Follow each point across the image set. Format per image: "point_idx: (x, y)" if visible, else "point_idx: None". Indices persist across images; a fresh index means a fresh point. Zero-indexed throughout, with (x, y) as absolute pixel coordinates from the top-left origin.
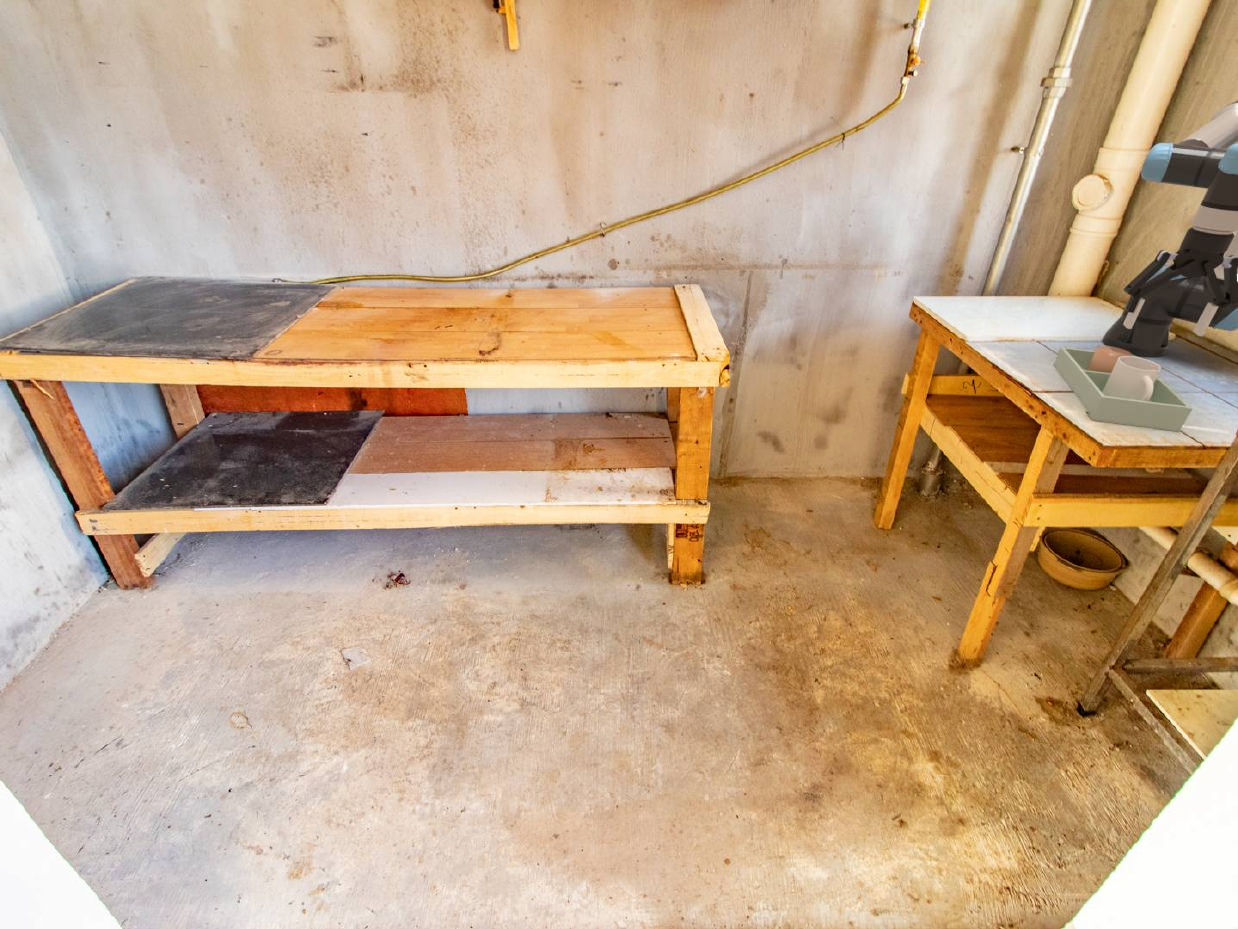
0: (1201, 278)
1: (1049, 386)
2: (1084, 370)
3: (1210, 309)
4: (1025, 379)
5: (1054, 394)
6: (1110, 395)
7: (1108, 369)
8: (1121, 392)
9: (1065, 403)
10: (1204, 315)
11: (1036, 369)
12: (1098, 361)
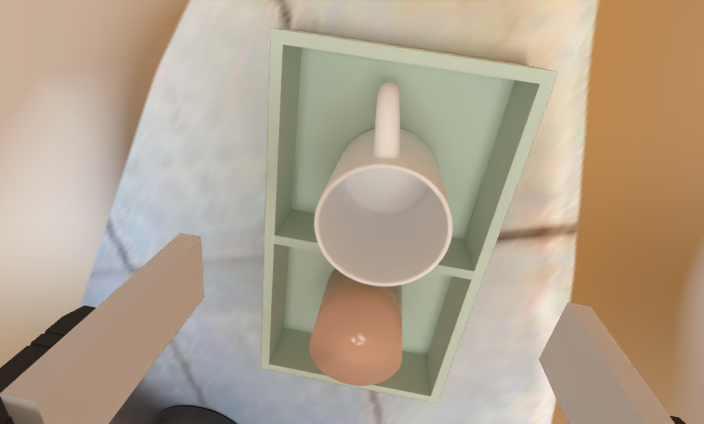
0: None
1: (508, 264)
2: (469, 276)
3: (80, 386)
4: (550, 296)
5: (527, 220)
6: (437, 166)
7: (379, 294)
8: (426, 153)
9: (533, 169)
10: (133, 357)
11: (478, 346)
12: (400, 323)
